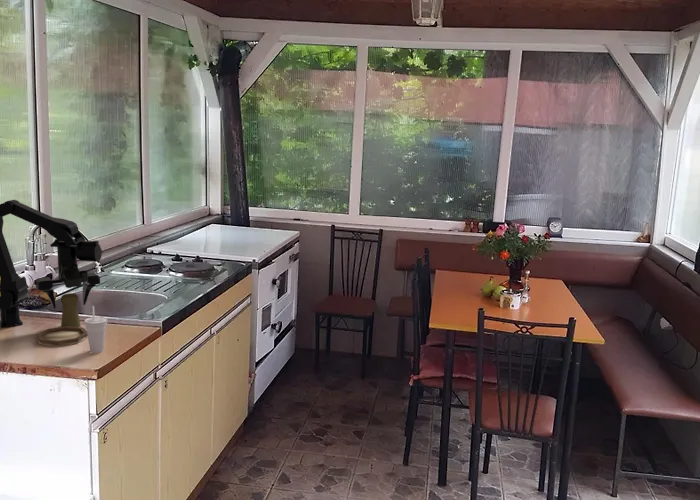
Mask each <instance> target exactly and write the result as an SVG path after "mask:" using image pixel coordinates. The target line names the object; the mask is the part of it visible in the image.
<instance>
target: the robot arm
mask: <svg viewBox="0 0 700 500" xmlns="http://www.w3.org/2000/svg"><path fill="white" fill-rule="evenodd" d="M8 215H12V216H15V217H17V218H19V219H22V220H23V221H26V222H28V223H30V224H32V225H34V226H36V227H39V228H41V229H43V230H45V231H46V232H47V233H48V234H49V235H50V236H51V237H53V238H54V241H53V242H52V243H51V244H50V247H51V248H57V250H56V252H57V253H56V254H57V272H58V275H57V276H58V279H51V278H50V276H46V277H37V279H36V280H35V287H36V289H38V290H39V291H42V292H43V293H46V295H47V297H48V299H49V301H50V304H51V305H52V308H53V309H54V310H55V309H56V298H55V291H54V288H53V287H54V286H61V285H64V286H65V288H67V289H71V288H76V287H78V288H81V287H82V305H83V306H85V305H86V303H87V302H88V301H87V300H88V297H89V295H90V292H91V290H92V289H93V288H95V287H96V286H97V285H101V277H100V276H99V275H98V274H97V273H96V272H88V270H80V269H79V264H78V260H79V261H80V262H93V263H94V262H96V263H99V262H100V261H101V259H102V256H103V250H102V248H101V245H100V243H99V240H86V238H85V236H84V235H83V234H82V233H81V231H80V229H79V227H78V224H77V223H76V222H74V221H72V220H70V219H64V218H59V217H54V216H50V215H48V214H46V213H44V212H42V211H39V210H37V209H35V208H33V207H31V206H28V205H27V204H24V203H22V202H20V201H19V200H16V199H10V200H7V201H4V202H2V203H1V204H0V328H6V327H14V326H21V325H23V324H24V323H23V321H22V320H21V317H20V316H21V314H20V304H21V303H23V302H24V299H25V298H27V296H28V294H29V288H30V286H29V285H28V283H27V278H26V277H25V276H20V275H19V274H18V273H17V271H16V268H15V265H14V263H13V259H12V257H11V253H10V250H9V247H8V244H7V241H6V239H5V236H4V233H3V230H4V229H3V227H4V217H5V216H8Z"/></svg>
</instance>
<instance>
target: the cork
mask: <svg viewBox="0 0 700 500" xmlns="http://www.w3.org/2000/svg"><path fill="white" fill-rule="evenodd" d="M78 301H79V296H78V295H77V294H76V293H65V294H63V295H61V298H60V302H61V304H62V311H61V320H60V321H61V322H60V327H64V326H72V327H82V326H81V320H80V315H79V310H78Z"/></svg>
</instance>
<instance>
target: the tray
mask: <svg viewBox="0 0 700 500" xmlns="http://www.w3.org/2000/svg"><path fill="white" fill-rule="evenodd" d="M36 339H37V342H38V343H39V345H42V346H46V347H64V346H70V345H71V346H72V345H76V344H78V343H81V342H83V341H85V340H86V339H88V335H87V330H86V328H84V327H82V326H80V327H72V326H64V327H61V326H58V327H57V326H56V327H52V328H47V329H45V330H42V331H41V332H38V333H37V334H36Z"/></svg>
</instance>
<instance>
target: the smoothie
mask: <svg viewBox="0 0 700 500" xmlns="http://www.w3.org/2000/svg"><path fill="white" fill-rule="evenodd" d="M91 307H92V316H91V317H88V318H86V319H84V322H83V324H84V325H85V330H86V331H87V335H88V336H87V339H88V344H89V350H90V351H89V352H90V353H91V352H92V353H91V354H100V353H103V352H104V350H105V339H106V329H107V324H108V318H107V317H103V316H96V315H95V314H96V313H95V305H92V306H91ZM99 352H100V353H99Z"/></svg>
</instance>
